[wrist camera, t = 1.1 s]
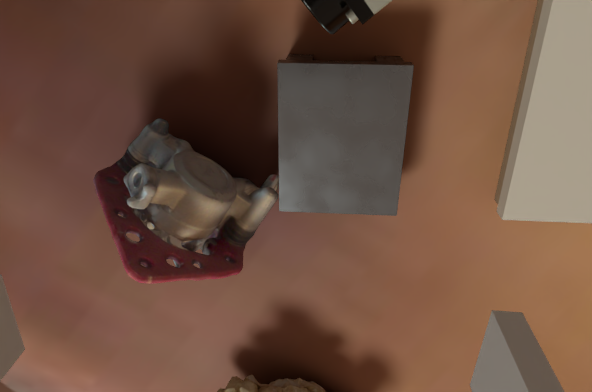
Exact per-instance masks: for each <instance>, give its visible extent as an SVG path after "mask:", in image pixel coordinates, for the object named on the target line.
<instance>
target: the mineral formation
mask: <svg viewBox="0 0 592 392" xmlns="http://www.w3.org/2000/svg"><path fill="white" fill-rule="evenodd" d="M217 392H325V390H324V389H323V388H322V387H321V386H320V385H318V384H316V383H315V382H313V381H312V382H307V381H305V380H302V379H300V378H298V379H296V380H294V379H288V378H286V379H283V380H282V379H278V380H276V381H273V382H271V383H270V384H259V382H258V381H257V380H256V379H255V377H254V376H253V375H250V376H247V377H246V378H245V380H244V381H243V380H241V379H240V378H238V377H237V376H236V377H232V378H231V380H230V381H229V383H228V385H227V387H226V389H219V390H218V391H217Z"/></svg>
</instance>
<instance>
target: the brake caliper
mask: <svg viewBox="0 0 592 392" xmlns="http://www.w3.org/2000/svg"><path fill="white" fill-rule="evenodd" d="M168 128H169V124H168V122H167V121H166V120H164V119H156V120H155V121H153V122H152V123H150V124H148V125H146V126H145V127H144V129H143V130H142V132H141V133H140V135H139V136H138V137H137V138H136V139H135V140H134V141H133V142H132V143H131V144H130V145H129V147H128V149H127V151H126V153H125V155H124V156H123V157H122V158H121V159H120V160H119V161H117V162H116V163H115V164H113V165H112V166H111V167H107V168H105V169H103V170H100V171H98V172H97V173H96V175H95V177H94V184H95V187H96V193H97V195H98V197H99V200H100V203H101V205H102V208H103V211H104V214H105V218H106V221H107V223H108V226H109V228H110V230H111V233H112V237H113V240H114V242H115V244H116V246H117V249H118V252H119V255H120V257H121V260H122V262H123V265H124V268H125V270H126V272H127V274H128V275H129V276H130V277H131V278H133V279H134V280H136V281H138V282H140V283H148V284H152V283H162V282H170V281H179V280H196V281H197V280H204V279H218V278H225V277H228V276H231V275H236V274H238V273H239V272H240V271H241V270H242V268H243V251H244V248H245V245H246V243H247V241H248V240H249V239H250V238H251V237H252V236H253V235H254V233H255V231H256V229H257V228H258V226H259V225H260V223H261V222H262V220H263V219H264V218H265V216H266V215H267V213H268V212H269V210H270V209H271V208H272V207H273V205H274V203H275V202H276V200H277V198H278V194H277V192H276V190H277V188H278V182H279V177H278V176H277V175H270V176H269V177H268V178H267V179H266V181H265V182H264V184H263V185H262V186H261V187H260V188H258V187H256V186H255V184H254V183H253V182H252V181H250V180H248V179H245V178H234V177H232V176H231V175H230V174H229V173H228V172H227V171H226V170H225V169H224V168H222V167H221V166H220V165H218V164H217V163H216V162H214V161H213V160H211V159H209V158H207V157H205V156H203V155H201V154H199V153H196V152H195V151H194V150H193V149H192V147H191V145H190V144H189V143H188V142H187V141H185V140H182V139H178V138H176V137H174V136H172V135H170V134H169V133H168ZM118 214H120V215H122V216H123V217H121V216H119V215H118ZM126 233H133V234H136V235H137V236H138V237H139V238H140V241H139V242H135V241H132V240H131V239H129V238H128V237H127V236H126ZM198 249H201V250H202V252H203V254H200V253H197V252H195V251H196V250H198ZM166 259H172V260H173V261H174V263H175V265H176V267H174V266H171V265H170V264H168V263H167V262H166ZM226 259H227V260H226ZM194 263H196V264H198V265H199V267H200V268H197V267H195V266H194V265H193V264H194ZM141 264H142V265H144V266H145V267H144V266H142V265H141Z"/></svg>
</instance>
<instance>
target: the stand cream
mask: <svg viewBox="0 0 592 392" xmlns="http://www.w3.org/2000/svg"><path fill="white" fill-rule="evenodd" d="M495 201H496V203H497V204H498V207H497V213H498V214H499V216H500V217H501V219H502V220H522V221H548V222H574V223H592V0H538V3H537V7H536V12H535V16H534V21H533V25H532V30H531V35H530V39H529V44H528V48H527V53H526V58H525V62H524V67H523V71H522V76H521V80H520V85H519V90H518V94H517V99H516V103H515V108H514V113H513V117H512V122H511V126H510V131H509V135H508V140H507V145H506V149H505V154H504V158H503V163H502V168H501V172H500V177H499V181H498V186H497V190H496V195H495Z"/></svg>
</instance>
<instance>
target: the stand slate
mask: <svg viewBox="0 0 592 392" xmlns="http://www.w3.org/2000/svg"><path fill="white" fill-rule="evenodd" d="M277 64H278V144H279V211H290V212H316V213H342V214H367V215H393V216H397V207H398V199H399V190H400V181H401V173H402V164H403V155H404V146H405V138H406V129H407V120H408V112H409V103H410V94H411V86H412V77H413V68H414V65H413V64H412V63H411V62H404V61H403V59H402V58H401V57H400V56H375V62H370V61H316V60H313V55H299V54H288V56H287V58H286V60H279V61H278V63H277Z"/></svg>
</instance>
